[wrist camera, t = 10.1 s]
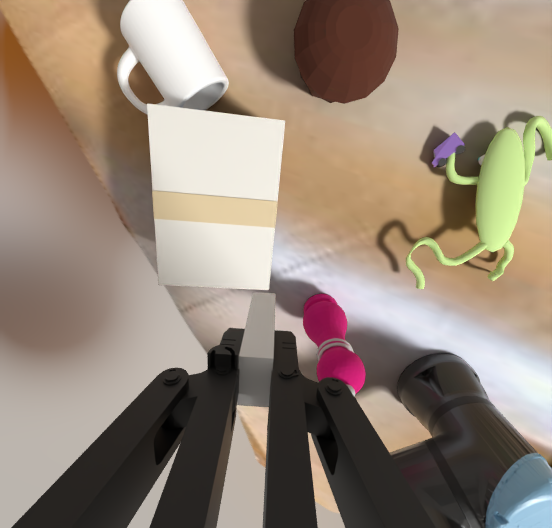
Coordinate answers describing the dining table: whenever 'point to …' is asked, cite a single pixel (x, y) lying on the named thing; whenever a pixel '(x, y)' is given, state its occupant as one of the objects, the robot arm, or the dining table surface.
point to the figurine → (491, 191)
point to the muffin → (345, 47)
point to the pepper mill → (332, 342)
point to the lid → (214, 196)
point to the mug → (169, 55)
